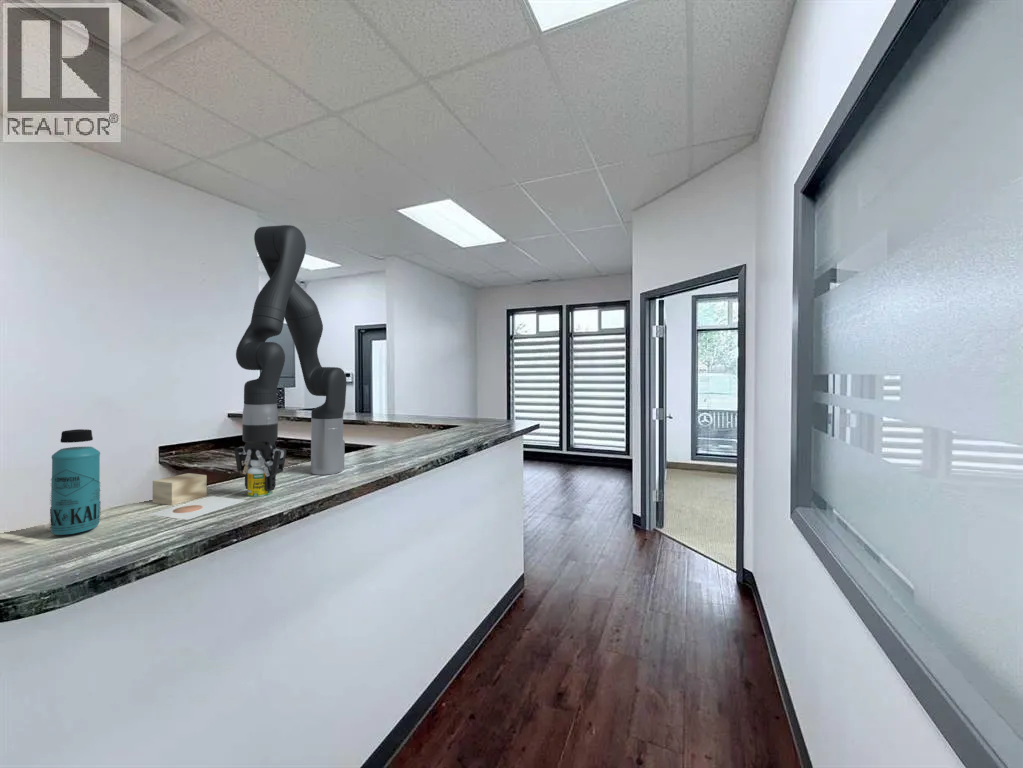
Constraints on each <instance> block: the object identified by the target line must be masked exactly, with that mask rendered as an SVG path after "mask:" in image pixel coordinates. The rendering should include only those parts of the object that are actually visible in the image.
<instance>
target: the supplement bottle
mask: <svg viewBox="0 0 1023 768" xmlns="http://www.w3.org/2000/svg"><path fill="white" fill-rule="evenodd" d="M266 463H270V461H269V462H266ZM251 466H252V467H251V468H249V469H248V475H247V477H248V489H247V497H249V498H261V497H266V496H270V495H272V494H273V491H274V490H272V491H265V477H266V475H265V472H264V469H263V468H261V465H260V462H259V460H251ZM269 469H270V471H271V468H270V467H269Z"/></svg>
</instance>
